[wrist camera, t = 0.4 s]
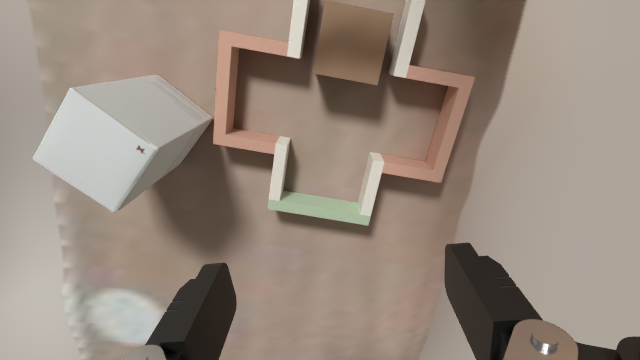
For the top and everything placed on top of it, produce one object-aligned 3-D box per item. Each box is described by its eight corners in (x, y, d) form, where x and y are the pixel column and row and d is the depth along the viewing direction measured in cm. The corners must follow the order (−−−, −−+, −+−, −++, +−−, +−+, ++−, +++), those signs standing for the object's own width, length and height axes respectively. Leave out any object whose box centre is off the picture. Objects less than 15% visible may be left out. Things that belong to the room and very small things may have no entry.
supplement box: (157, 71, 35) (69, 82, 23) (215, 118, 37) (161, 150, 25) (123, 124, 37) (27, 158, 25) (179, 166, 39) (113, 217, 27)
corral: (233, -42, 31) (223, -51, 28) (484, 7, 32) (499, 2, 29) (218, 188, 40) (209, 199, 37) (417, 222, 41) (423, 234, 38)
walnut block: (325, 6, 33) (324, 0, 28) (385, 18, 33) (393, 13, 29) (315, 70, 35) (313, 73, 31) (371, 81, 35) (377, 85, 31)
